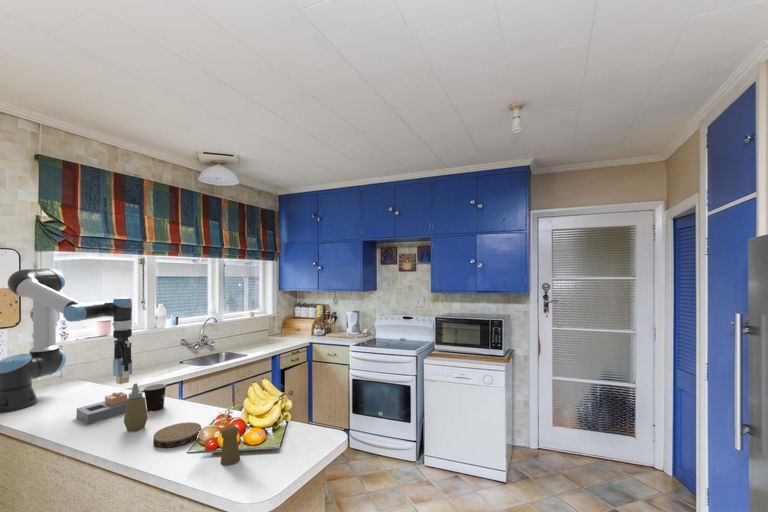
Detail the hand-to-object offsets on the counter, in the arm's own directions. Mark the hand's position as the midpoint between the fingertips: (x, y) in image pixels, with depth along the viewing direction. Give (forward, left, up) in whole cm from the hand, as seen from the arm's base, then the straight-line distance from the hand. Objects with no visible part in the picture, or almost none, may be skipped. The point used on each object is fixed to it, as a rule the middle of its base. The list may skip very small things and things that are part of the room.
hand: (122, 376), depth 190 cm
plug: (0, 0, -3) cm, 3 cm away
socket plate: (+15, -12, -11) cm, 22 cm away
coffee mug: (+27, +4, -11) cm, 29 cm away
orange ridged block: (+15, -8, -7) cm, 18 cm away
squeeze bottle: (+44, -12, -11) cm, 46 cm away
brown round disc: (+67, -7, -12) cm, 68 cm away
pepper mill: (+99, -6, -11) cm, 99 cm away
